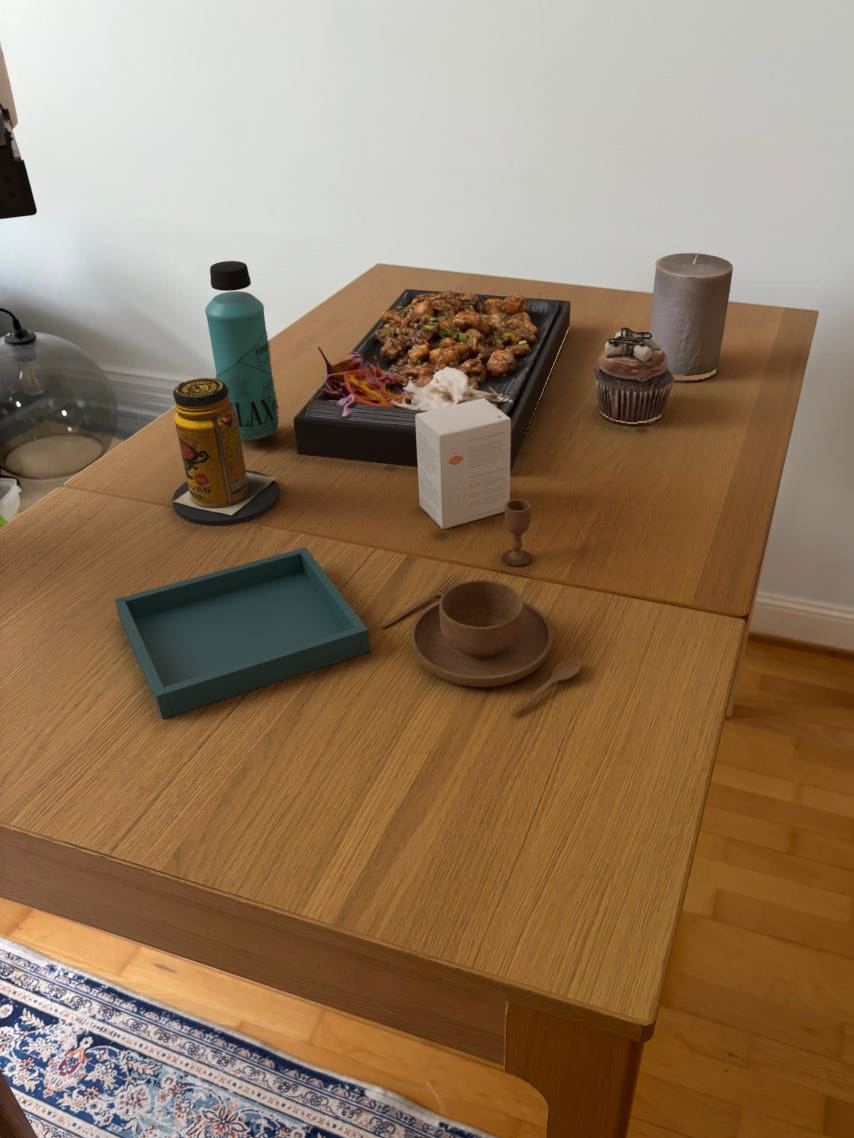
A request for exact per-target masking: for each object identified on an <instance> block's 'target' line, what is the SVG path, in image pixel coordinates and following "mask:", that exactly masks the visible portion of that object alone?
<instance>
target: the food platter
mask: <svg viewBox="0 0 854 1138" xmlns="http://www.w3.org/2000/svg"><path fill="white" fill-rule="evenodd" d="M571 305H572V304H571V301H570V300H559V299H547V298H533V297H532V298H531V297H526V296H524V294H523V293H520V292H518V291H517V292H515V293H513V294H509V295H508V296H507V295H506V296H505V295H494V294H493V295H492V294H478V293H472V292H466V293H465V292H464V293H463V292H453V291H452V290H450V289H446V290H445V291H443V290H441V291H439V290H438V291H436V290H424V289H409V288H405V289H404V290H403V291H402V292H401V294H400V295H399V296H398V297H397V298H396V299H395V301H394V302H393V303H392V304H391V305H390V307H388V309H385V310H384V311H382V312H381V314H380V318H379V319H378V320H377V321H376V322H375V323H374V325H372V327H371V328H370V329H369V330H368V332H367V333H365V335H364V336H363V338H362V339H361V340H359V342H358V343H357V344H356V345H355V347H354V348H353V349H352V350H351V351H350V352H349V353H348V355H345V356H342V357H341V358H340V359H339V357H337V359H338V360H337V362H335V363H334V364H331V362H330V361H329V360H328V358H327V357H326V355H325V353H324V351H323V350H322V348H321V347H320V346H319V345H317V349H318V351H319V352H320V354H321V356H322V358H323V360H324V363H325V365H326V366H325V367H326V376H325V377H324V376H321V377H320V378H321V379H323V380H324V382H323V384H322V385H321V386H320V387H319V388H318V389H317V390H316V392H315V393H314V394H313V395H312V396H311V397H310V398H309V400H308V401H307V402H306V403H305V405H304V406H303V407H302V408H301V409H300V410H299V411H298V412H297V413H296V415H295V416H294V417H293V421H292V422H293V430H294V437H295V445H296V453H297V455H305V456H315V457H324V458H333V459H341V460H342V459H343V460H351V461H361V462H371V463H379V464H381V463H382V464H388V465H389V464H390V465H398V466H399V465H400V466H408V467H417V468H418V461H417V441H416V422H415V415H416V414H418V413H423V412H427V411H431V410H436V409H440V408H444V407H448V406H453V405H457V404H461V403H465V402H470V401H474V400H478V399H482V398H484V399H486V400H487V401H488V402H490V403H491V404H492V405H494V406H495V407H496V408H497V409H499V410H500V411H501V412H503V413H504V414H505V415H506V416H508V417H509V418H510V419H511V448H510V473H511V472H512V469H513V467H514V464H515V462H516V461H517V457H518V455H519V452H520V450H521V448H522V446H523V443H524V441H525V439H526V436H527V434H528V431H529V429H530V426H531V424H532V421H533V419H534V417H535V415H536V413H537V410H538V407H539V405H540V402H541V400H542V398H543V396H544V393H545V390H546V389H547V386H548V383H549V381H550V379H551V377H552V374H553V371H554V369H555V367H556V365H557V362H558V359H559V357H560V355H561V352H562V350H563V347H564V345H565V342H566V340H567V337H568V335H569V333H570V330H569V331H568V334H567V336H566V338H565V341H564V343H563V345H562V348H561V350H560V353H559V355H558V357H557V360H556V362H555V365H554V367H553V369H552V372H551V374H550V376H549V373H550V371H551V368H552V366H553V363H554V361H555V359H556V356H557V353H558V351H559V348H560V346H561V344H562V341H563V339H564V337H565V334H566V331H567V329H568V327H569V328H570V325H571V324H570V323H571V322H570V321H571V307H572V306H571ZM569 324H570V325H569ZM548 376H549V379H548V381H547V378H548ZM546 381H547V384H546V386H545V383H546ZM544 386H545V388H544ZM543 388H544V391H543ZM542 391H543V393H542ZM541 393H542V396H541ZM540 396H541V398H540ZM539 398H540V400H539ZM538 401H539V403H538ZM537 403H538V405H537ZM536 406H537V407H536ZM535 408H536V410H535ZM534 411H535V412H534ZM533 413H534V415H533ZM532 416H533V417H532ZM531 418H532V419H531ZM530 421H531V422H530ZM529 423H530V424H529ZM528 426H529V427H528ZM527 428H528V429H527ZM525 433H526V434H525Z"/></svg>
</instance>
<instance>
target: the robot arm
mask: <svg viewBox="0 0 854 1138" xmlns="http://www.w3.org/2000/svg"><path fill="white" fill-rule="evenodd" d="M2 47H3V46H2V43H1V42H0V220H5V219H7V220H8V219H14V218H15V219H16V218H23V217H30V216H35V215H36V214H37V212H38V209H37V206H36V202H35V201H36V200H35V198H34V193H33V189H32V185H31V182H30V178H29V174H28V170H27V167H26V162H25V160H24V159H22V156H21V151H20V149H19V146H18V142H17V140H16V137H15V134H14V131H13V130H14V129H15V128H16V127H17V125H18V124H19V119H18V114H17V108H16V103H15V98H14V95H13V89H12V85H11V80H10V76H9V72H8V68H7V63H6V60H5V59H6V58H5V55H4V51H3V48H2Z"/></svg>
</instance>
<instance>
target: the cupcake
mask: <svg viewBox="0 0 854 1138" xmlns="http://www.w3.org/2000/svg"><path fill="white" fill-rule="evenodd" d="M635 335H637V336H636V337H635ZM667 366H668V361H667V357H666V354H665V353H664V352H663V351H661V349H660V347H659V344H658V343H657V342H656V341H655V340H654V339H653V338H652V334H651V333H650V332H649V331H634V330H631V329H630V328H629V327H628V326H627V327H626V326H624V327H621V328H620V331H618V332H617V333H615V336H614V338H609V339H608V341H607V342H606V343H605V344H604V350H603V351H602V352H601V353H600V355H599V357H598V360H597V362H596V364H595V366H594V368H593V379H594V384H595V389H596V396H597V404H598V405H597V406H598V411H599V410H600V411H601V412H602V413H603V414H606V416H608V417H609V418H612V419H613V420H614V419H615V420H621V421H625V422H638V421H645V420H646V421H647V420H649V419H652V418H654V417H658V416H659V415H661V414H664V412H665V409H666V407H667V402H668V399H669V396H670V393H671V390H672V387H673V385H674V382H675V381H674V379H675V378H674V376H673V374H671V372H670V370H669V369H667ZM600 411H599V415H600V417H601V418H602V419H604V420H605V421H607V422H610V423H612V424H616V425H621V426H624V427H625V426H626V427H643V426H648V425H652V424H654V423H656V422H658V421H660V420H661V418H663V415H662V416H661V417H660V418H658V419H656V420H654V421H651V422H647V423H638V424H627V423H621V422H616V421H613V420H610V419H609V418H606V417H605V416H603V415H602V414H601V413H600Z"/></svg>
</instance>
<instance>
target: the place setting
mask: <svg viewBox="0 0 854 1138" xmlns="http://www.w3.org/2000/svg"><path fill="white" fill-rule="evenodd" d="M531 516H532V504H531V503H530V502H529V501H528V500H525V499H522V498H514V499H510V501H508V502H506V504H505V512H504V524H505V528H506V530H507V531H508V532H509V533H511V534H512V537H513V538H512V541H511V543H510V544H511V548H512V549H510V550H509V549H508V550H507V551H504V553H502V555H501V556H502V557H501V559H502V562H503V564H506V565H508V566H510V567H515V568H516V567H517V568H519V567H524V566H527V565H528V564H529V563H531V561H532V555H531V554H530V552H528V551H526V550H523V549H522V548H523V541H522V535H523V534H524V533H526V532H528V530H529V528H530V524H531V518H532V517H531ZM453 576H454V577H453ZM457 576H458V574H456V575H455V573H453V574H452V575H450V576H449V577H448V578H447V579H446V580H444V581H443V583H441V584H440V585H439V586H438V587H436V588H435V589H434V590H433V592H431V593H430V594H428V595H426V596H425V597H423V598H422V599H420V600H419V601H417V602H416V603H414V604H412V605H411V606H409V607H408V608H406V609H404V610H403V611H401V612H399V613H398V614H396V615H395V616H393V617H392V618H390V619H388V621H386V622H385V623H383V624H382V625H381V626H380V628H382V629H385V628H387V627H390V626H391V625H393V624H395V623H396V622H398V621H400V620H401V619H402V618H404V617H406V616H408V615H409V614H411V613H412V612H413V611H415V610H416V609H418V608H420V607H421V606H422V605H424V604H425V603H427V602H428V601H430V600H432V599H434V598H435V597H440V599H439V600H438V601H436V602H434V603H433V604H431V605H429V606H428V607H426V608H425V609H424V610H423V611H422V612H421V613H420V614H418V616H417V617H416V618H415V620H414V622H413V623H412V626H411V629H410V634H409V635H410V645H411V648H412V653H413V654H414V657H415V658H416V659H417V661H418V662H419V663H420V664H421V666H423V668H424V669H426V670H427V671H428V672H430V674H432V675H433V676H436V677H438V678H439V679H440V680H441V679H442V680H444V681H446V682H449V683H452V684H455V685H459V686H464V687H470V688H471V687H473V688H489V687H490V688H492V687H498V686H499V687H500V686H504V685H507V684H511V683H515V682H518V681H519V680H521V679H523V678H526V677H528V676H529V675H531V674H532V673H534V672H535V671H536V670H538V669H539V668H540V666H541V665H543V663H544V662H545V661H546V659H547V658H548V656H549V654H550V651H551V649H552V644H553V630H552V626H551V624H550V621H549V620H548V618H547V617H546V615H544V613H542V612H541V611H540V610H539V609H538V608H537V607H535V606H534V605H532V604H530V603H529V602H527V601H525V600H524V599H523V596H522V595H521V594H520V593H519V592H518V590H516V589H515V588H514V587H512V586H510V585H508V584H506V583H504V582H500V581H496V580H490V579H473V580H466V581H463V579H464V578H463V577H462V578H461V576H459V577H457ZM452 577H453V578H452ZM460 578H461V579H460ZM458 580H459V581H458ZM452 581H453V582H452ZM462 581H463V582H462ZM582 665H583V660H582V658H581V657H579V656H575V657H574V656H573V657H569V658H566V659H563V660H562V661H560V662H558V663H557V664H556V666H554V668H553V670H552V673H551V677H550V678H549V679H548V680H547V681H546V682H545V683H544V684H542V685H541V686H540V687H539V688H538V689H536V690H535V691H534V692H532V693H531V694H530V695H529V696H527V697H526V698H525V699H524V700H523V701H521V702H520V703H518V705H516V706H515V707H514V709H513V710H512V711H511V712H510V716H512V717H514V716H516V715H518V714H519V713H521V712H523V711H524V710H525V709H526V708H527V707H529V706H530V705H531V704H532V703H533V702H534V701H535V700H536V699H537V698H539V697H540V696H541V695H542V694H543V693H544V692H546V691H547V689H549V688H550V687H551V686H552V685H555V684H556V683H560V682H565V681H568V680H570V679H572V678H573V677H575V676H576V675H577V674H578V673H579V672H580V671H581V668H582Z"/></svg>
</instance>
